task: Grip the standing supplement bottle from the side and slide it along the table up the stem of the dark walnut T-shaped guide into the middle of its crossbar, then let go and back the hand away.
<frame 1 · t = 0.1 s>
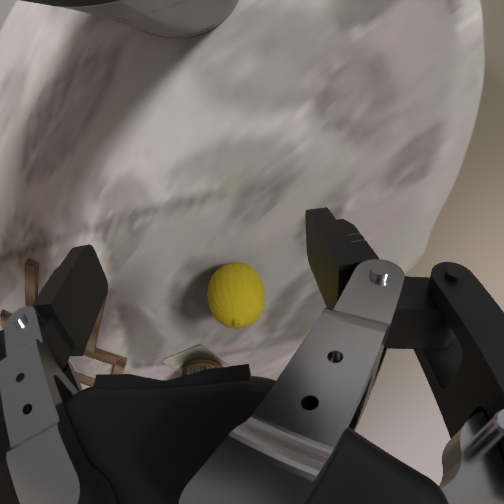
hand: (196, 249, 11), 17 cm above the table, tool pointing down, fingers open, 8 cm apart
condiment: (199, 364, 44), on the table
lemon: (233, 267, 34), on the table
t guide: (60, 354, 41), on the table
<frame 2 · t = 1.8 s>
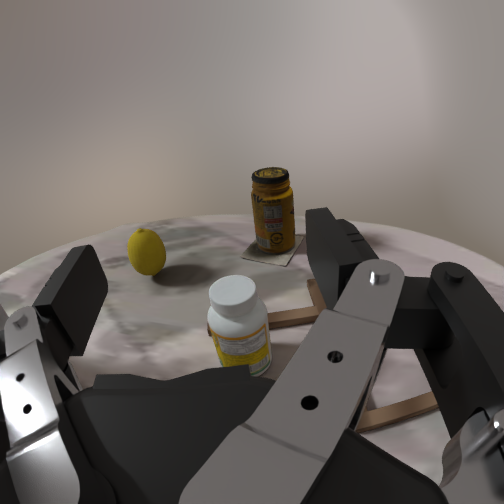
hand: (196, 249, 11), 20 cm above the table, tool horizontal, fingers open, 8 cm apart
supplement bottle: (246, 361, 31), on the table
condiment: (273, 248, 49), on the table
lemon: (154, 276, 46), on the table
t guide: (375, 337, 31), on the table
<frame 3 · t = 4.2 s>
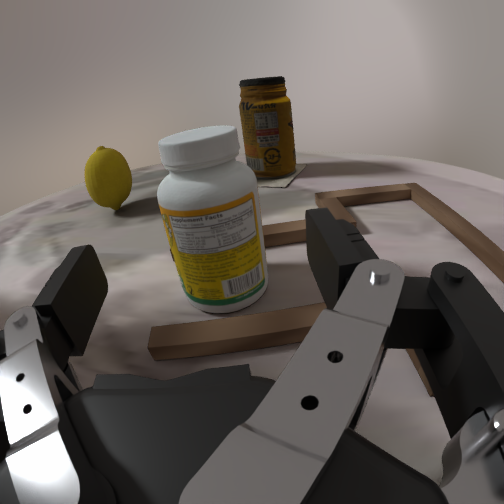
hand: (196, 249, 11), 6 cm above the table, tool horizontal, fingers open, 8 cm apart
supplement bottle: (227, 289, 20), on the table
condiment: (269, 176, 38), on the table
lemon: (117, 211, 35), on the table
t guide: (424, 252, 20), on the table
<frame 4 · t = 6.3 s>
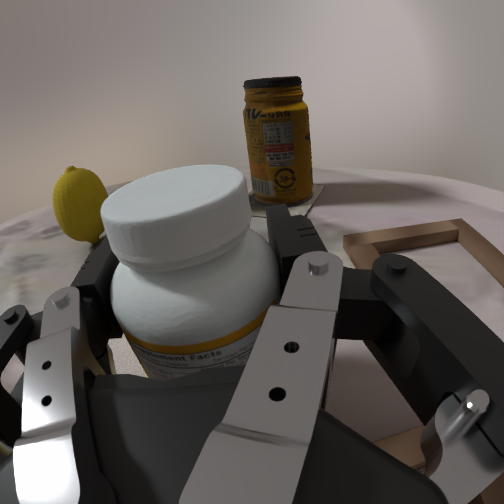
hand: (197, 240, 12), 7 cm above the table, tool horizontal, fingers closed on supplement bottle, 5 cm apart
supplement bottle: (229, 397, 13), on the table, touching gripper
condiment: (279, 201, 31), on the table
lemon: (95, 244, 28), on the table
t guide: (486, 330, 13), on the table
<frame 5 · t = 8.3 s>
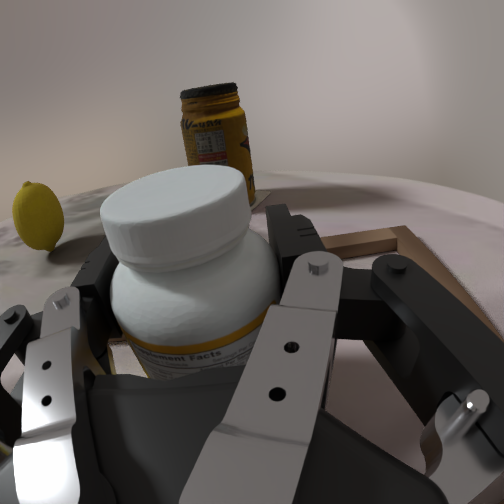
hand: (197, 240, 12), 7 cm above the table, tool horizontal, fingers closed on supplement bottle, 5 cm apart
supplement bottle: (229, 397, 13), on the table, touching gripper
condiment: (221, 208, 31), on the table
lemon: (52, 252, 28), on the table
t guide: (399, 359, 13), on the table
when the fingers open (7 cm above the table, at t = 10.6 s): supplement bottle stays where it is, on the table.
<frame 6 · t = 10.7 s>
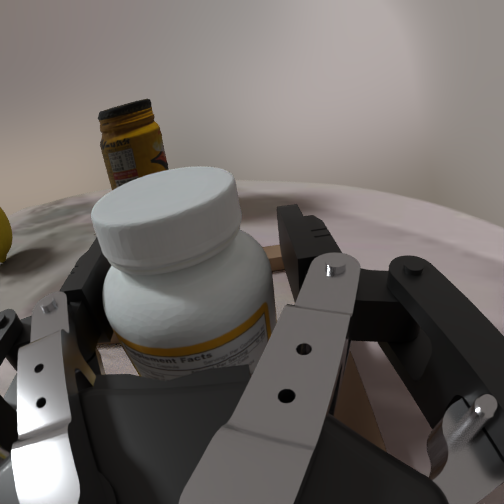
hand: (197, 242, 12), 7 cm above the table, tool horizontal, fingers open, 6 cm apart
supplement bottle: (224, 399, 13), on the table
condiment: (144, 222, 31), on the table
lemon: (4, 263, 28), on the table
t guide: (231, 395, 13), on the table
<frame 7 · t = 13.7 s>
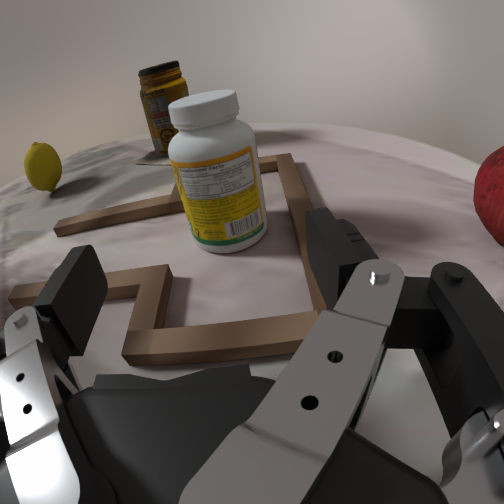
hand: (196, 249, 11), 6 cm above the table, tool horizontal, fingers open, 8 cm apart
supplement bottle: (231, 233, 22), on the table
condiment: (173, 152, 39), on the table
lemon: (53, 192, 38), on the table
onion: (497, 243, 17), on the table
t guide: (235, 230, 22), on the table
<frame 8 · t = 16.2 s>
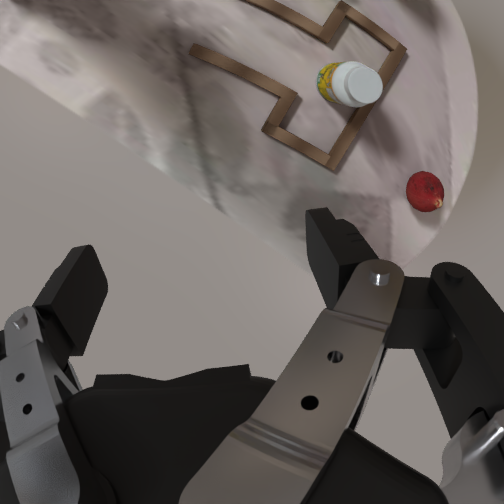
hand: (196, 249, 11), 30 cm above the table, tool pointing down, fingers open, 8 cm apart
supplement bottle: (334, 82, 35), on the table
onion: (411, 182, 43), on the table
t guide: (337, 83, 35), on the table
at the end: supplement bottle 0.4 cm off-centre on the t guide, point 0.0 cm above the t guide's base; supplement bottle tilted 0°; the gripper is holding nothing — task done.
